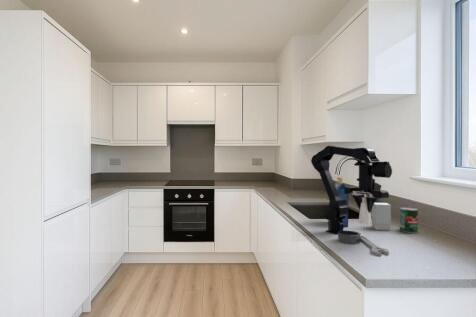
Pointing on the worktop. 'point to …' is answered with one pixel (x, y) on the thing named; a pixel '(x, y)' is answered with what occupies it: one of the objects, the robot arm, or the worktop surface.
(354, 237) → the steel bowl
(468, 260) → the worktop surface
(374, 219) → the supplement box
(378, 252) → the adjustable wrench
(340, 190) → the blue cleaner bottle
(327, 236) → the worktop surface
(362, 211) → the salt shaker
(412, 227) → the canned tomato
